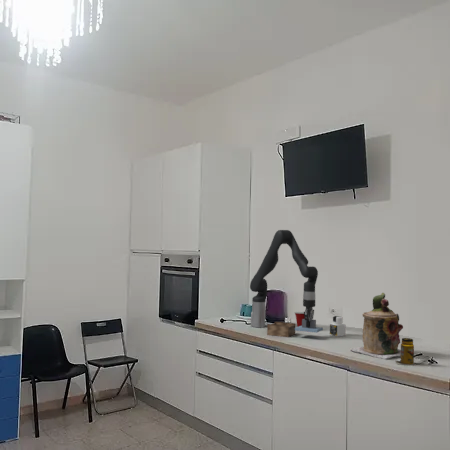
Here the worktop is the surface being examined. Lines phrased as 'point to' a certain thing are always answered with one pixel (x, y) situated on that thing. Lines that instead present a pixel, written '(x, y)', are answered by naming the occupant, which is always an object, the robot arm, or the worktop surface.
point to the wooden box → (281, 329)
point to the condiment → (407, 352)
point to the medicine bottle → (337, 326)
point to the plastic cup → (299, 318)
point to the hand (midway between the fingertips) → (308, 326)
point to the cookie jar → (380, 331)
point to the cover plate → (309, 329)
